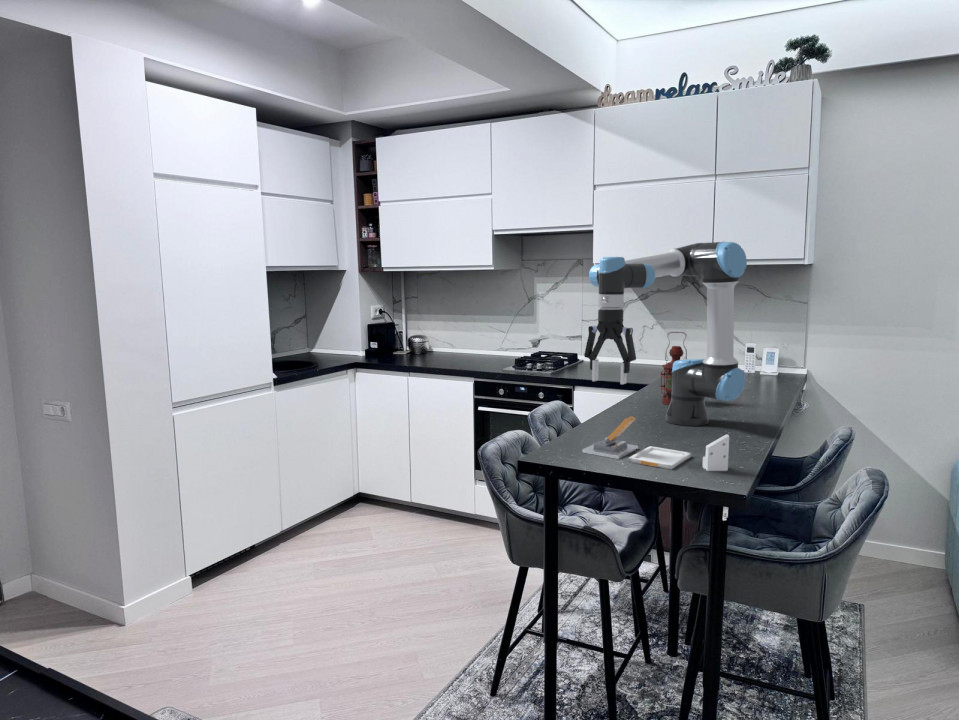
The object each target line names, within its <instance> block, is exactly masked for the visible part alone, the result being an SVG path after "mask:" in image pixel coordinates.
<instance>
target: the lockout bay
mask: <svg viewBox="0 0 959 720" xmlns="http://www.w3.org/2000/svg"><path fill="white" fill-rule="evenodd" d="M691 458H692V452H689V451H682V450H676V449H670V448H665V447H664V448H663V447H658V446H651V445H650V446H648V447H646V448H644V449H641V450H640V451H639V452H636V453H635V454H632V455H631V456H629V457H628V458H627V462H628V463H633V464H639V465H644V466H648V467H649V466H650V467H654V468H655V467H656V468H661V469H666V470H673V469H676V467H679V465H681V464H683V463H684V462H685V461H688V459H691Z"/></svg>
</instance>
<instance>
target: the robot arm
mask: <svg viewBox="0 0 959 720" xmlns="http://www.w3.org/2000/svg"><path fill="white" fill-rule="evenodd" d="M747 263H748V261H747V255H746V252H745V249H743V247H742V246H741V245H740V244H739V243H737V242H733V241H725V240H723V241H716V242H715V241H714V242H712V241H711V242H696V243H692V244H688V245H684V246H681V247H680V246H679V247H676V248H672V249H669V250H668V251H666V252H665V253H660V254H659V253H658V254H654V255H649V256H643V257H639V258H638V257H637V258H632V259H626V260H625V257H623V256H603V257H601V258H600V259H599V263H598V264H595V265H593V266H591V268H590V269H589V272H588V273H589V274H588V277H589V278H588V279H589V283H591V285H593V286H594V287H596V288H598V302H597V303H598V310H597V321H598V323H597V325H590V326H588V337H587V341H586V346H585V350H584V353H583V356H584V358H587V359H589V369H590V371H591V372H592V373H591V381H592V382H597V381H599V362H600V360H599V359H598V355H599V353H600V351H601V350H602V347H603V345H604V343H605V341H607V340H608V339H609V340H611V341H612V340H613V342H614V343H615V344H616V347H617V349H618V352H619V355H620V357H621V359H622V362H621V363H620V383H619V384H620V385H625V384H627V381H628V379H627V377H628V374H629V373H630V369H631V368H630V366H631V363H632V362H633V361H636V360H637V355H636V350H635V344H634V338H633V337H634V336H633V332H634V329H633V327H626V326H624V310H623V308H624V307H625V303H624V301H625V300H624V299H625V289H645V288H649V287H651V286H652V285H653V284H654V283H655V280H656V278H659V277H661V278H662V277H665V276H671V277H681V276H683V277H702V284H703V285H704V286H705V287H706V357H705V358H693V359H692V358H690V359H689V358H687V360H686V359H680V360H678V361H675V362H674V363H673V368H672V393H671V402H670V405H668V408H667V410H666V413H665V421H666V422H667V423H670V424H673V425H680V426H690V427H692V426H693V427H694V426H696V427H697V426H705V425H708V424H709V419H710V418H709V417H710V416H709V414H708V410H707V409H708V408H707V406H706V402H705V398H709V399H713V400H714V399H715V400H718V401H726V402H732V401H734V400H736V399H738V398H739V397H740V395H741V394H742V393H743V392H744V389H745V386H746V380H747V379H746V374H745V371H744V370H743V369H741V368H740V367H739V361H738V360H737V359H736V358H735V356H734V349H735V348H734V338H735V337H734V330H735V329H734V326H735V325H734V324H735V321H734V320H735V319H734V318H735V317H734V316H735V314H734V313H735V311H734V310H735V308H734V307H735V306H734V305H735V304H734V303H735V302H734V301H735V299H734V297H735V295H734V294H735V293H734V292H735V287H736V285H738V283H739V282H740V281H739V278H740V277H741V276H743V274H745V272H746V269H747V266H748V265H747ZM597 332H598V334H599V335H598V337H597V340H596V335H597ZM622 333H623V334H624V335H625V336H624V338H625V343H624V341H623V340H624V339H623V336H622ZM595 340H596V342H595ZM594 344H595V345H594ZM625 344H626V345H625Z"/></svg>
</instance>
